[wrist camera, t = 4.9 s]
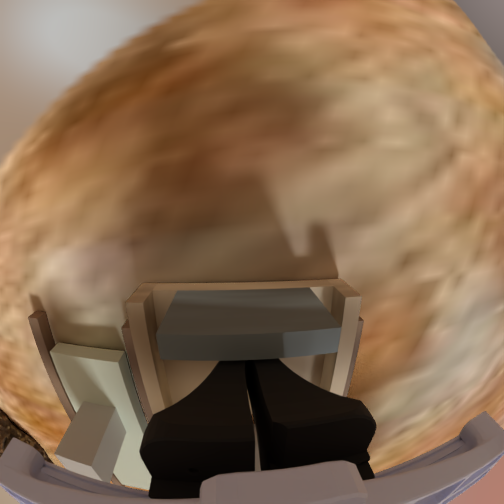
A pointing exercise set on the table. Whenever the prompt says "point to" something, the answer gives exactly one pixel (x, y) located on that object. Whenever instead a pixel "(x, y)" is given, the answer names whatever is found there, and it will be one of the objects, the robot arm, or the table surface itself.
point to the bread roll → (16, 436)
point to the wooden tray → (241, 331)
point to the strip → (101, 415)
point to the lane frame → (47, 344)
